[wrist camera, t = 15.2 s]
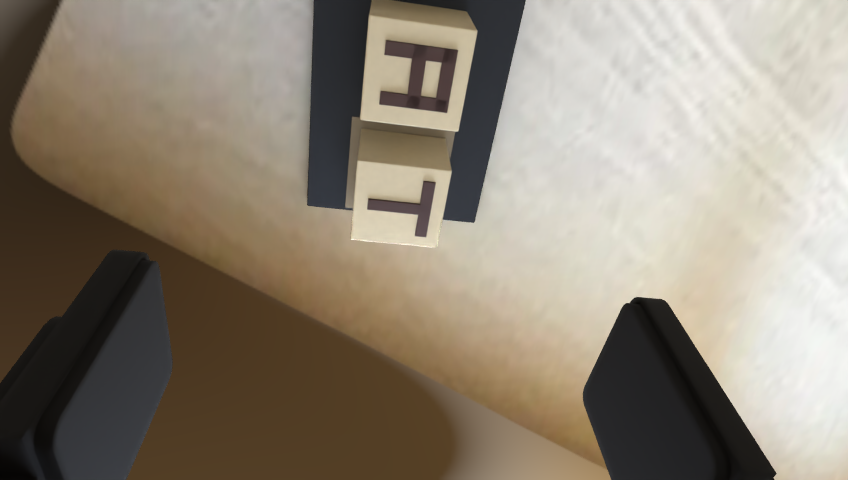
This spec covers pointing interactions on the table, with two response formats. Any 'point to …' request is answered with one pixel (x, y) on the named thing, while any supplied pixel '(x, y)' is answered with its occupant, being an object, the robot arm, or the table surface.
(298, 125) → the table surface
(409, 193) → the tile
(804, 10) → the table surface
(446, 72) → the tile
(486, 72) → the word mat
